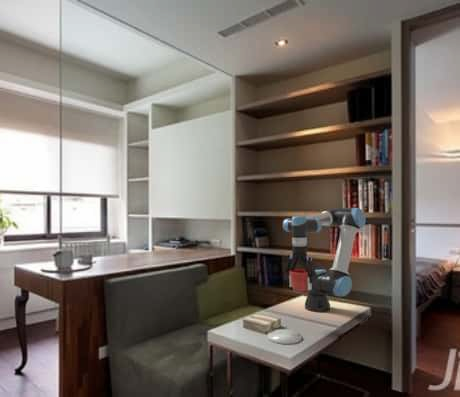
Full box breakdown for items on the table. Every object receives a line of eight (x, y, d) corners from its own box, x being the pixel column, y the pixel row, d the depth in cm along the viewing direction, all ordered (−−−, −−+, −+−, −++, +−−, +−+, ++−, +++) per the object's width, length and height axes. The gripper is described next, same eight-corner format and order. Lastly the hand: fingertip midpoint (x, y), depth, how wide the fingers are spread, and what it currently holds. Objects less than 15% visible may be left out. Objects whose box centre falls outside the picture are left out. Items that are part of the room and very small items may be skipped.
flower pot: (294, 286, 186) (293, 268, 186) (313, 288, 180) (313, 270, 181) (287, 290, 177) (286, 271, 177) (307, 293, 171) (307, 273, 171)
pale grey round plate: (279, 329, 174) (279, 327, 174) (307, 336, 163) (307, 334, 163) (260, 338, 162) (260, 336, 162) (289, 347, 151) (289, 344, 151)
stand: (259, 320, 188) (259, 313, 188) (280, 326, 178) (280, 318, 178) (243, 327, 177) (243, 319, 177) (265, 333, 168) (264, 325, 168)
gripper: (277, 244, 184) (278, 286, 183) (315, 247, 169) (316, 292, 168) (285, 243, 190) (286, 283, 189) (322, 246, 174) (323, 289, 174)
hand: (300, 288), depth 179 cm, fingers closed on flower pot, 10 cm apart
